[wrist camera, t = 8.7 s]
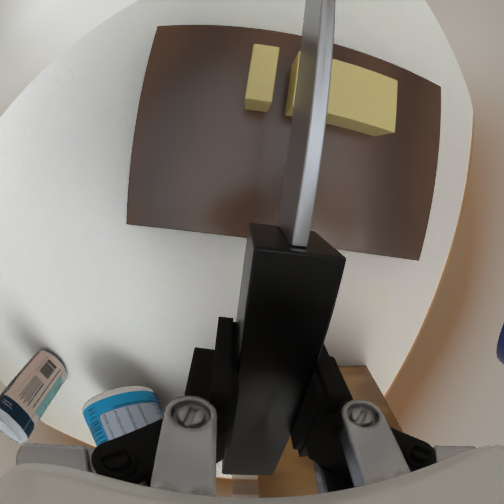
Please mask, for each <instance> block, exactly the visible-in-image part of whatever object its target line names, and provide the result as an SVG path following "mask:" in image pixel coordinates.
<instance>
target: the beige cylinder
mask: <svg viewBox="0 0 504 504" xmlns="http://www.w3.org/2000/svg"><path fill="white" fill-rule="evenodd" d="M66 378H67V373H66V370H65V368H64V366H63V365H62V363H61V362H60V361H59V359H58V358H57V357H55V356H54V355H53V354H51V353H49V352H47V351H45V350H40V351H38V352H37V353H36V354H35V355H34V356H33V357H32V358H31V359H30V361H29V362H28V363H27V364H26V365H25V366H24V367H23V369H22V370H21V371H20V372H19V373H18V374H17V376H16V377H15V378H14V379H13V380H12V381H11V383H10V384H9V385H8V386H7V388H6V389H5V390H4V391H3V392H2V394H1V395H0V431H1V432H2V433H3V434H4V435H5V436H6V437H8V438H9V439H11V440H12V441H13V442H15V443H18V444H20V443H22V442H25V441H27V440H28V438H29V436H30V434H31V433H32V431H33V429H34V428H35V426H36V424H37V423H38V421H39V420H40V418H41V416H42V415H43V413H44V412H45V410H46V409H47V407H48V405H49V404H50V402H51V401H52V399H53V398H54V396H55V395H56V393H57V392H58V390H59V389H60V387H61V386H62V384H63V383H64V382H65V380H66Z"/></svg>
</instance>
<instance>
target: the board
mask: <svg viewBox="0 0 504 504" xmlns="http://www.w3.org/2000/svg"><path fill="white" fill-rule="evenodd" d="M301 41H302V36H298V35H293V34H288V33H282V32H276V31H270V30H262V29H254V28H245V27H234V26H217V25H171V26H158V27H157V31H156V34H155V38H154V41H153V45H152V48H151V52H150V56H149V60H148V64H147V68H146V73H145V77H144V82H143V86H142V91H141V96H140V102H139V107H138V113H137V119H136V125H135V132H134V139H133V147H132V155H131V165H130V175H129V187H128V202H127V224H130V225H139V226H148V227H158V228H167V229H176V230H185V231H193V232H202V233H211V234H219V235H228V236H236V237H245V238H247V235H248V228H249V224H250V223H259V224H267V225H275V226H278V225H277V222H278V216H279V209H280V202H281V196H282V189H283V182H284V175H285V168H286V161H287V153H288V146H289V139H290V131H291V124H292V116H286V115H285V110H286V103H287V95H288V87H289V80H290V72H291V66H292V64H293V62H294V60H295V58H296V56H297V54H298V52H299V51H300V50H301ZM254 44H261V45H268V46H275V47H279V56H278V63H277V70H276V77H275V84H274V91H273V98H272V103H271V105H270V107H269V109H268V112H262V111H254V110H246V109H245V94H246V88H247V82H248V75H249V69H250V63H251V57H252V51H253V45H254ZM332 59H336V60H339V61H343V62H346V63H349V64H353V65H356V66H359V67H362V68H365V69H368V70H371V71H374V72H376V73H379V74H382V75H385V76H387V77H390V78H392V79H395V80H397V81H398V84H397V108H396V123H395V133H390V134H385V135H380V136H371V135H368V134H365V133H361V132H357V131H354V130H350V129H346V128H342V127H338V126H334V125H330V124H326V128H325V136H324V144H323V152H322V159H321V166H320V173H319V180H318V186H317V193H316V199H315V205H314V211H313V217H312V223H311V229H310V230H312V231H315V232H316V233H317V234H318V235H320V236H321V237H322V238H323V239H324V240H326V241H327V242H328V243H329V244H330V245H331V246H333V247H334V248H335V249H339V250H346V251H354V252H361V253H368V254H376V255H383V256H390V257H397V258H404V259H411V260H418V261H419V258H420V254H421V250H422V246H423V242H424V238H425V234H426V229H427V224H428V219H429V214H430V209H431V204H432V198H433V191H434V185H435V178H436V170H437V161H438V151H439V138H440V118H441V87H440V86H438V85H436V84H434V83H432V82H430V81H428V80H426V79H424V78H422V77H420V76H418V75H416V74H414V73H412V72H410V71H407V70H405V69H403V68H401V67H398V66H396V65H394V64H391V63H389V62H386V61H384V60H381V59H378V58H376V57H373V56H370V55H367V54H364V53H361V52H358V51H355V50H352V49H349V48H346V47H342V46H339V45H336V44H333V57H332Z"/></svg>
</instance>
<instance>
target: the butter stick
mask: <svg viewBox="0 0 504 504" xmlns="http://www.w3.org/2000/svg"><path fill="white" fill-rule="evenodd" d="M299 59H300V51H299V52H298V54H297V56H296V58H295V60H294V62H293V64H292V66H291V72H290V80H289V87H288V95H287V103H286V110H285V115H286V116H293V108H294V100H295V92H296V84H297V76H298V67H299ZM397 84H398V81H397V80H395V79H392V78H390V77H387V76H385V75H382V74H379V73H376V72H374V71H371V70H368V69H365V68H362V67H359V66H356V65H353V64H349V63H346V62H343V61H339V60H336V59H332V70H331V81H330V92H329V102H328V111H327V120H326V124H330V125H334V126H338V127H342V128H346V129H350V130H354V131H357V132H361V133H365V134H368V135H371V136H380V135H385V134H390V133H395V123H396V108H397Z"/></svg>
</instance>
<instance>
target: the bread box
mask: <svg viewBox="0 0 504 504" xmlns="http://www.w3.org/2000/svg"><path fill="white" fill-rule="evenodd" d="M339 369H340V371H341V374H342V376H343V378H344V380H345V382H346V384H347V386H348V389H349V391H350V393H351V395H352V397H353V400H356V399H361V400H366V401H370V402H372V403H374V404H375V405H377V406H378V407H379V408H380V410H381V411H382V413H383V415H384V417H385V419H386V421H387V423H388V425H389V427H391V428H394V429H396V430H398V431H400V432H403V431H402V429H401V427H400V425H399V423H398V422H397V420H396V418H395V416H394V415H393V413H392V411H391V409H390V407H389V405H388V403H387V402H386V400H385V398H384V396H383V394H382V393H381V391H380V389H379V387H378V386H377V384H376V382H375V380H374V379H373V377H372V375H371V373H370V372H369V370H368V368H367V367H366V366H351V367H339ZM312 494H318V489H317V484H316V479H315V474H314V469H313V460H311V459H309V458H308V456H307V457H299V453H298V449H297V450H294V449H293V446H292V441H291V435H290V437H289V440H288V442H287V444H286V447H285V449H284V451H283V454H282V456H281V458H280V460H279V462H278V465H277V467H276V469H275V471H274V473H273V475H233V474H232V498H275V497H292V496H303V495H312Z"/></svg>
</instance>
